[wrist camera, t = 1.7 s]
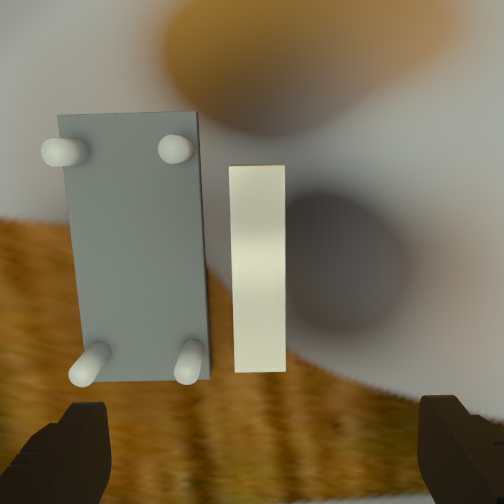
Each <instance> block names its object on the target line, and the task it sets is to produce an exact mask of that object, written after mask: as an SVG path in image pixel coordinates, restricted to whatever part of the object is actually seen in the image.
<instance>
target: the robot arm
mask: <svg viewBox="0 0 504 504" xmlns="http://www.w3.org/2000/svg"><path fill="white" fill-rule="evenodd" d="M417 458H418V465H419V469H420V473H421V476H422V478H423V480H424V482H425V484H426V486H427V488H428V490H429V492H430V494H431V496H432V498H433V500H434V502H435V503H436V504H504V433H503V432H502V431H501V430H500V429H499V428H498V427H497V426H496V425H494V424H492V423H491V422H489V421H488V420H486V419H484V418H483V417H481V416H480V415H470V413H469V412H468V411H467V410H466V408H465V407H464V406H463V405H462V404H461V402H460V401H459V400H458V399H457V397H456V396H454V395H425V396H422V398H421V400H420V408H419V425H418V442H417ZM110 472H111V448H110V438H109V429H108V419H107V410H106V406H105V404H104V403H103V402H74V403H72V404H71V405H70V406H69V408H68V409H67V410H66V412H65V413H64V415H63V416H62V418H61V419H60V420H59V422H58V423H49V424H48V425H46V426H45V427H44V428H42V429H41V430H39V431H38V432H37V433H35V434H34V435H32V436H31V437H30V439H29V440H28V441H27V443H26V444H25V445H24V446H23V448H22V449H21V450H20V454H17V456H16V457H15V458H14V459H13V461H12V462H11V463H10V467H7V468H6V470H5V471H4V472H3V474H2V475H1V476H0V504H99V502H100V500H101V497H102V495H103V493H104V490H105V488H106V486H107V483H108V480H109V477H110Z"/></svg>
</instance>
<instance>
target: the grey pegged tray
mask: <svg viewBox="0 0 504 504" xmlns="http://www.w3.org/2000/svg"><path fill="white" fill-rule="evenodd" d="M57 118H58V127H59V134H60V138H50V139H48V140H46V141H45V142H44V143H43V144H42V147H41V156H42V158H43V160H44V161H45V162H46V163H47V164H48V165H50V166H52V167H62V166H63V169H64V178H65V187H66V196H67V205H68V212H69V213H68V214H69V222H70V231H71V240H72V248H73V257H74V266H75V274H76V283H77V292H78V300H79V309H80V318H81V326H82V335H83V344H84V353H83V354H82V355H81V356H80V358H79V359H78V360H77V361H76V362H75V364H74V365H73V366H72V367H71V368H70V370H69V379H70V381H71V382H72V383H73V384H74V385H76V386H78V387H86V386H89V385H90V384H91V383H92V382H115V381H161V380H177V381H178V382H179V383H181V384H184V385H190V384H193V383H194V382H196V381H197V380H207V379H210V375H211V358H210V338H209V318H208V299H207V279H206V259H205V241H204V222H203V221H204V220H203V201H202V183H201V182H202V181H201V162H200V142H199V122H198V112H197V111H179V112H145V113H109V114H76V115H57Z"/></svg>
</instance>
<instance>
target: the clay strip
mask: <svg viewBox="0 0 504 504" xmlns="http://www.w3.org/2000/svg"><path fill="white" fill-rule="evenodd" d="M229 187H230V220H231V253H232V254H231V255H232V290H233V324H234V358H235V372H286V334H285V165H283V164H253V165H252V164H251V165H230V166H229Z"/></svg>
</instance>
